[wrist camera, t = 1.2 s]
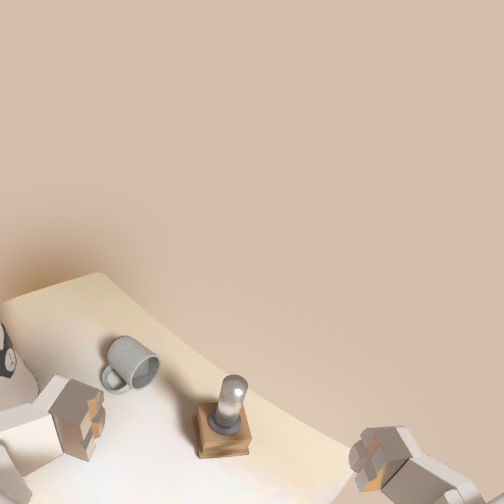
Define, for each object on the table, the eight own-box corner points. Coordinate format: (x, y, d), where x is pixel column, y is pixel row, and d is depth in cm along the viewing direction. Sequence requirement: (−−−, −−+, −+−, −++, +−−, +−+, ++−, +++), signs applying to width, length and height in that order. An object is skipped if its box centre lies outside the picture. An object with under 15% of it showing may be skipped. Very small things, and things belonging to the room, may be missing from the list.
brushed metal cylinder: (216, 429, 38) (224, 395, 33) (212, 412, 40) (220, 375, 36) (237, 428, 39) (250, 393, 34) (233, 411, 41) (245, 374, 37)
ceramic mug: (133, 351, 55) (130, 324, 51) (162, 374, 51) (161, 349, 48) (94, 378, 46) (86, 353, 42) (122, 406, 43) (115, 383, 39)
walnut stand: (199, 458, 38) (202, 444, 35) (193, 418, 45) (195, 399, 42) (248, 454, 40) (256, 439, 37) (238, 416, 47) (245, 397, 44)
